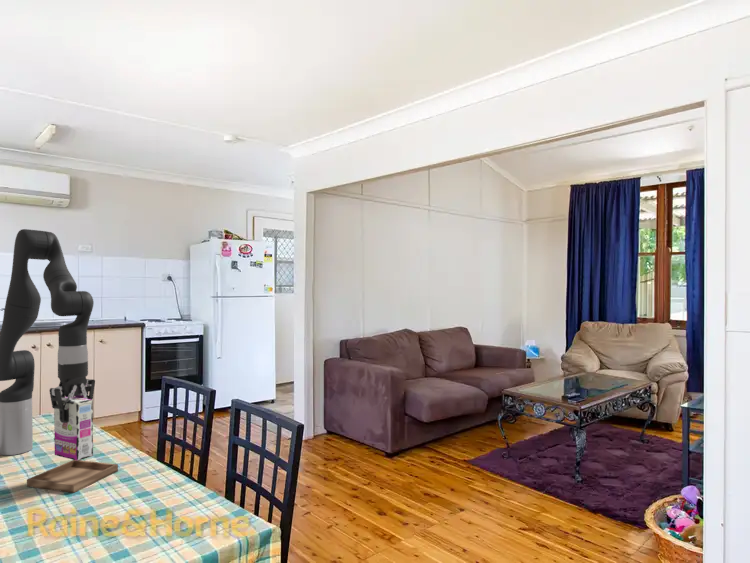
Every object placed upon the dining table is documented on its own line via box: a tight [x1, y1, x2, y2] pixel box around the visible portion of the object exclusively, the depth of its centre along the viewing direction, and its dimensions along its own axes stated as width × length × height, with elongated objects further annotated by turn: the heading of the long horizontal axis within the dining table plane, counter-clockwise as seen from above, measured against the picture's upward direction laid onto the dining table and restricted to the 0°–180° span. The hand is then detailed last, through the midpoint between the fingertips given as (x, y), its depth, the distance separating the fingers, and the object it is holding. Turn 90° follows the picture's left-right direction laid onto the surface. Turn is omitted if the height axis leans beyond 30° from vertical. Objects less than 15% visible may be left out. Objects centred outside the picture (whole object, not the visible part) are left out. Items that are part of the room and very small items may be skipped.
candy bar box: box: [53, 396, 94, 461], centre depth 149 cm, size 11×5×16 cm, turn 62°
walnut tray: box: [26, 459, 119, 494], centre depth 149 cm, size 16×16×2 cm
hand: (73, 419), depth 149 cm, fingers closed on candy bar box, 5 cm apart
